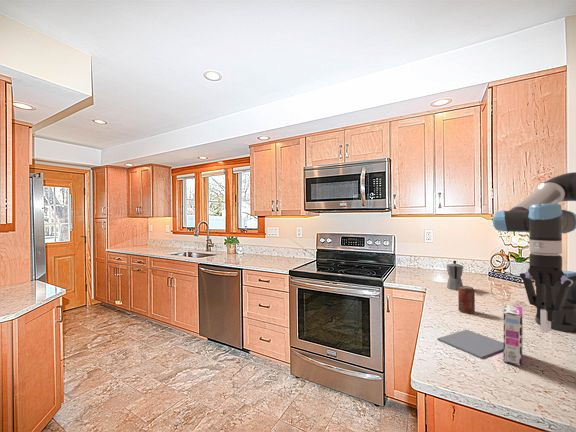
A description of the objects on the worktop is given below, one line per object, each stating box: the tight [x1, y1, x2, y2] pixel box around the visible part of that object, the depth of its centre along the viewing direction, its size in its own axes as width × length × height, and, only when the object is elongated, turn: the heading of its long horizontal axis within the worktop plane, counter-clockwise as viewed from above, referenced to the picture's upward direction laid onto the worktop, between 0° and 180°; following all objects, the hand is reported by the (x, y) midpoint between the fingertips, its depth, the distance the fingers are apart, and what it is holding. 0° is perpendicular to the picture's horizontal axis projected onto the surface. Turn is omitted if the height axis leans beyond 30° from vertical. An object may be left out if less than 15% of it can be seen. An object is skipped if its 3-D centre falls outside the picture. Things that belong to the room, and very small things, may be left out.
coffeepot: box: [446, 260, 464, 291], centre depth 185 cm, size 15×9×18 cm, turn 153°
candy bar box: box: [502, 304, 524, 367], centre depth 97 cm, size 11×5×16 cm, turn 141°
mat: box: [436, 329, 504, 359], centre depth 108 cm, size 18×16×1 cm
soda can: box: [457, 285, 476, 315], centre depth 143 cm, size 7×7×12 cm
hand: (545, 330), depth 89 cm, fingers closed
